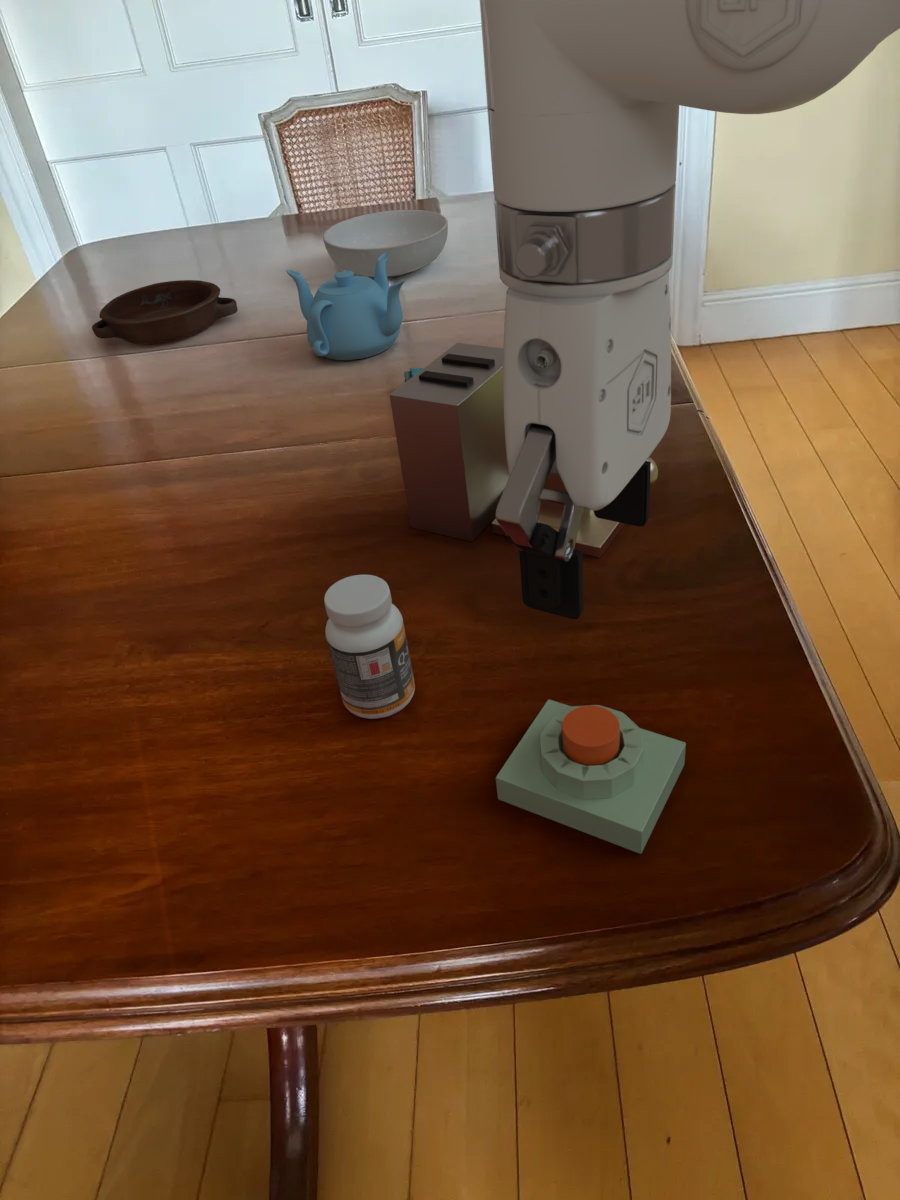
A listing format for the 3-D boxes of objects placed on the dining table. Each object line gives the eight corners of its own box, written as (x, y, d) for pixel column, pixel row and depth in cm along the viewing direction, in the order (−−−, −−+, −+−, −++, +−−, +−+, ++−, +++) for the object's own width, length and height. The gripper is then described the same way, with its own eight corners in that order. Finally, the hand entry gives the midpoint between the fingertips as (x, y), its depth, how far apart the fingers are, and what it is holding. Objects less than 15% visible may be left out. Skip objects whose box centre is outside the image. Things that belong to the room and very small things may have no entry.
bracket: (633, 513, 85) (636, 376, 77) (600, 558, 80) (599, 417, 71) (529, 492, 90) (521, 362, 82) (492, 533, 85) (479, 399, 76)
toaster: (529, 480, 92) (521, 346, 83) (472, 542, 84) (457, 400, 75) (470, 469, 95) (456, 338, 86) (410, 527, 87) (388, 390, 78)
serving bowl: (313, 292, 147) (304, 249, 142) (352, 252, 162) (345, 212, 158) (435, 289, 142) (430, 244, 137) (463, 247, 157) (459, 206, 153)
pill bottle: (426, 706, 67) (408, 602, 61) (354, 732, 66) (328, 628, 60) (401, 661, 72) (383, 560, 66) (333, 685, 70) (307, 584, 64)
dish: (99, 325, 145) (88, 295, 142) (235, 299, 148) (227, 268, 145) (95, 364, 131) (83, 331, 128) (244, 334, 135) (236, 301, 132)
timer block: (684, 765, 60) (687, 723, 58) (641, 854, 55) (642, 812, 53) (549, 720, 65) (547, 680, 62) (497, 799, 60) (493, 758, 57)
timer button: (627, 734, 58) (628, 715, 57) (606, 772, 56) (606, 753, 55) (576, 717, 60) (576, 699, 59) (553, 754, 57) (552, 735, 56)
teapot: (308, 375, 120) (292, 299, 113) (299, 336, 131) (284, 265, 125) (415, 355, 121) (405, 279, 115) (397, 318, 133) (387, 247, 127)
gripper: (581, 315, 31) (588, 681, 42) (732, 182, 42) (707, 497, 53) (402, 297, 35) (450, 639, 45) (585, 179, 46) (589, 475, 56)
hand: (589, 561), depth 49 cm, fingers open, 8 cm apart
